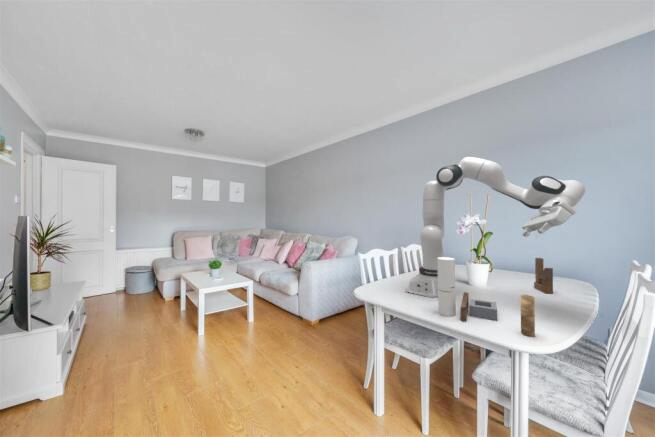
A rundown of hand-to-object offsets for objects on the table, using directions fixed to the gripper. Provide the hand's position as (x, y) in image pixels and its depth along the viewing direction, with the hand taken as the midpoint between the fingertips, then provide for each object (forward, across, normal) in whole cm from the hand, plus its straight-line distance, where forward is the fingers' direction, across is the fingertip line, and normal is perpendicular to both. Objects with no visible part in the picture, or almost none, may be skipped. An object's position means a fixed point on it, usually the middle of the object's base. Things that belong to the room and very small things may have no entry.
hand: (532, 234), depth 105 cm
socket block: (+38, -10, +11) cm, 41 cm away
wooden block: (-3, -45, +40) cm, 60 cm away
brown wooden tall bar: (+35, +7, +19) cm, 41 cm away
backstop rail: (+42, -12, +6) cm, 44 cm away
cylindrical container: (+48, -11, +1) cm, 50 cm away
